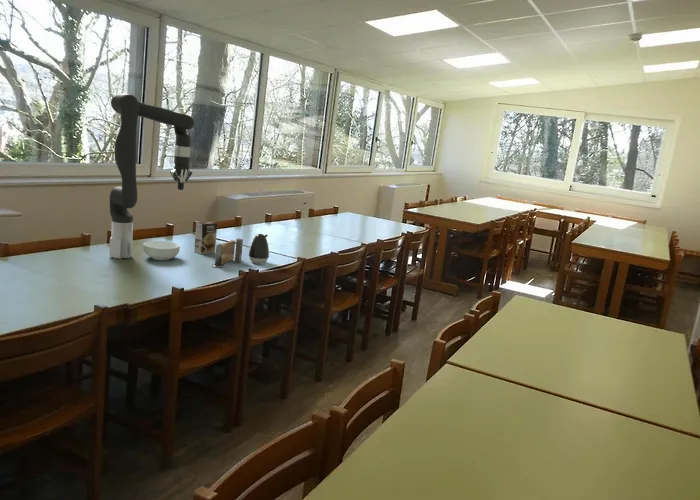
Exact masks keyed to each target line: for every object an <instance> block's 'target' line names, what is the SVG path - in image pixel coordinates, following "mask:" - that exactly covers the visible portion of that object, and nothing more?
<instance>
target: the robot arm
mask: <svg viewBox="0 0 700 500" xmlns="http://www.w3.org/2000/svg"><path fill="white" fill-rule="evenodd" d="M110 105H111V108H112V109H113V111H114V112H115V113H117V114H120V126H119V127H120V129H119V131H118V133H117V136H116V138H115V141H114V148H113V149H114V153H113V155H114V161H115V164H116V167H117V169H118V172H119V174H120V176H121V186H115V187H113V188H112V189H111V191H110V193H109V214H110V218H111V231H110V232H111V236H110V238H109V256H110V257H109V256H108V257H109V258H112V257H114V258H113V259H117V258H118V260H122V258H127V259H131V258H132V255H133V234H134V233H133V227H134V226H133V225H134V216H133V215H132V214H131V213H130V212H129V210H128V209H132V208H134V207H135V206H136V205H137V202H138V187H137V186H138V185H137V135H138V133H137V130H138V129H137V128H138V120H139V118H138V117H141V118H145V119H148V120H152V121H154V122H157V123H161V124H163V125H169V126H173V129H174V134H175V144H174V145H175V146H174V152H173V153H174V154H173V155H174V156H173V157H174V158H173V164H174V167H173V170H170V171H169V173H170V175H171V177H172V178H173V180H174V181H175V182H177V189H178V190H179V191H183V190H184V188H185V182H188V181H189V179H190V178H191V176H192V174H193V171H191V170H190V167H189V166H190V164H191V162H190V161H191V136H190V135H189V134H188V133H187V131H188V130H189V131H190V130H191V129H193V128H194V127H195V120H194V118H193V117H192V116H191V115H189V114H186V113H181V112H176V111H173V110H171V109H167V108H164V107H160V106H157V105H151V104H147V103H143V102H140V101H138V99H137V97H136V96H135V95H133V94H130V93H121V92H120V93H117V94H115V95H113V96H112V98H111V100H110ZM130 257H131V258H130Z"/></svg>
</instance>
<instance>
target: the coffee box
mask: <svg viewBox="0 0 700 500" xmlns="http://www.w3.org/2000/svg"><path fill="white" fill-rule="evenodd" d="M217 228H218V223H217V222H214V221H196V223H195V237H194V250H193V251H194V252H195V253H197V254H199V255H207V254H216V244H217V232H218V231H217V230H218V229H217Z"/></svg>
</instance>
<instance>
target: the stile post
mask: <svg viewBox="0 0 700 500" xmlns="http://www.w3.org/2000/svg"><path fill="white" fill-rule="evenodd" d="M235 241H236V242H235V250H234V259H233V260H231V263H234V264H238V265H240V264H242V263H244V262H245V260H242V255H243V243H244V238H240V237H239V238H236V240H235Z"/></svg>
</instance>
